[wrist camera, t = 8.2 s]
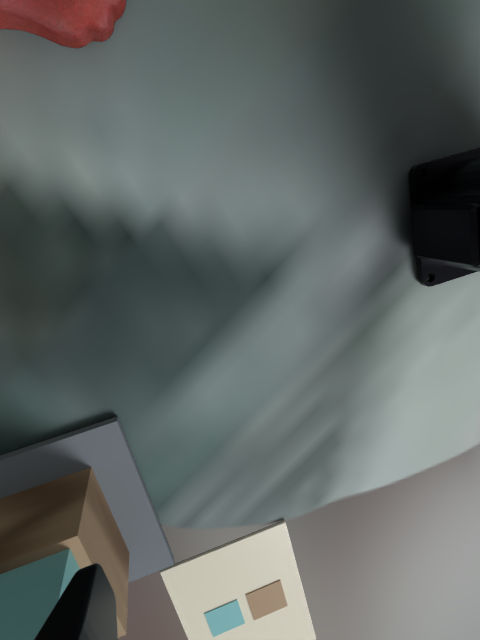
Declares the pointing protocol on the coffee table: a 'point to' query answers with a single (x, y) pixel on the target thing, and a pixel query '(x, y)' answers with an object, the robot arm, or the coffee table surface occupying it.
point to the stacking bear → (63, 19)
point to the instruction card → (242, 590)
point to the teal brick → (33, 594)
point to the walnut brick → (66, 531)
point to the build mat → (113, 477)
